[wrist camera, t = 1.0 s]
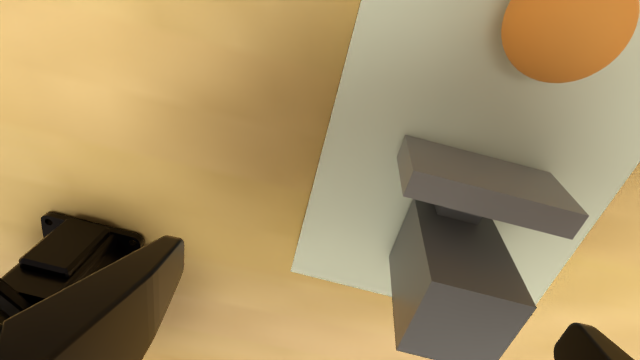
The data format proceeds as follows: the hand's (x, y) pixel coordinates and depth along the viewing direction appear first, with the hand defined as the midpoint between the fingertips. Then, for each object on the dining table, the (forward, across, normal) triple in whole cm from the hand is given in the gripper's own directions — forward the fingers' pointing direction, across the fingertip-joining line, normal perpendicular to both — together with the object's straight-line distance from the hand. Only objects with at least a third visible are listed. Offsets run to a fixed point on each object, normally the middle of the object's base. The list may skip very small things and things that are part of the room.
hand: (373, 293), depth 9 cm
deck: (+13, -5, 0) cm, 14 cm away
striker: (+10, -5, +4) cm, 12 cm away
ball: (+8, -5, -6) cm, 12 cm away
